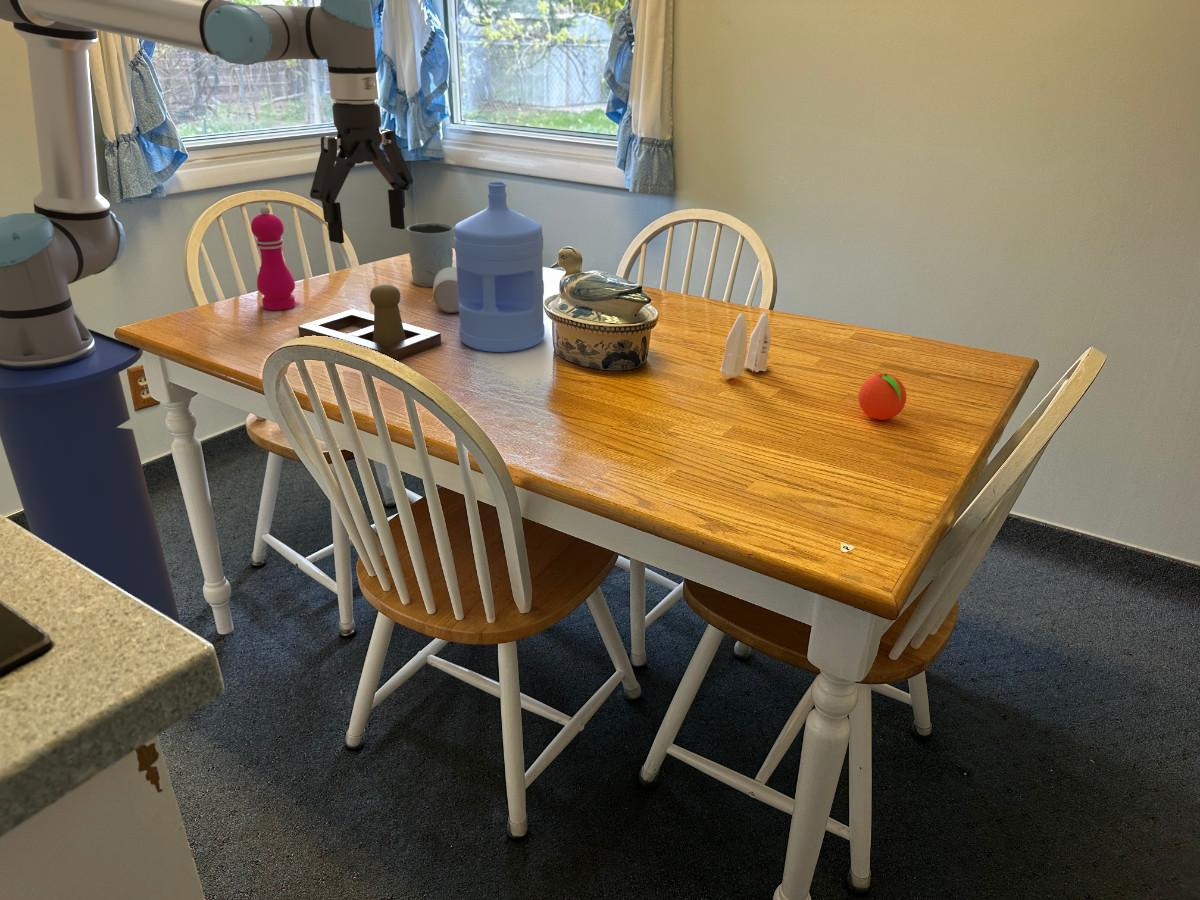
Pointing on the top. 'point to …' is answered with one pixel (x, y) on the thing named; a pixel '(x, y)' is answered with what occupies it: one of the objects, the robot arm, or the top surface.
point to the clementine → (882, 396)
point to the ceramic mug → (446, 290)
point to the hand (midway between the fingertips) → (368, 234)
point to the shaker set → (738, 346)
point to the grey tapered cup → (429, 251)
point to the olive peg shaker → (387, 315)
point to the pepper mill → (272, 262)
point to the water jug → (499, 277)
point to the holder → (371, 334)
